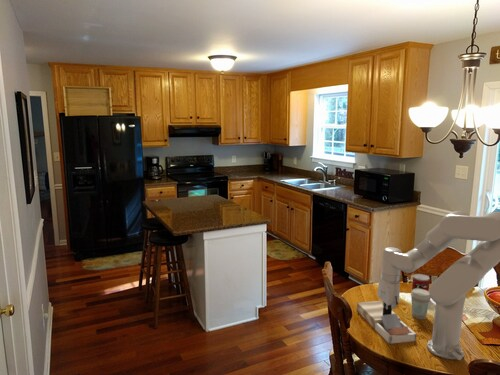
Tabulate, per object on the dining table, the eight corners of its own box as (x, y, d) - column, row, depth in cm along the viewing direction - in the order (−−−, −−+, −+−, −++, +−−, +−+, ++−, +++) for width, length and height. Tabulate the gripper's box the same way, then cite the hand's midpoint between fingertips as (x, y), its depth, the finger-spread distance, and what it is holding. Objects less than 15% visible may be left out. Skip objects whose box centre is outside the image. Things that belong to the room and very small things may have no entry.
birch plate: (399, 326, 166) (400, 317, 165) (374, 328, 164) (375, 320, 163) (379, 308, 182) (380, 300, 181) (356, 310, 180) (357, 302, 179)
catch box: (415, 340, 155) (416, 334, 154) (389, 343, 153) (389, 336, 152) (400, 326, 166) (400, 320, 165) (375, 329, 163) (375, 322, 163)
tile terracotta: (400, 329, 160) (402, 335, 159) (387, 330, 159) (389, 337, 157) (407, 326, 155) (409, 332, 154) (394, 327, 154) (396, 334, 152)
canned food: (409, 297, 195) (410, 276, 193) (414, 292, 200) (416, 272, 199) (424, 301, 190) (426, 281, 188) (429, 296, 195) (431, 276, 194)
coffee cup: (404, 314, 177) (406, 290, 175) (417, 310, 181) (419, 286, 179) (420, 322, 169) (422, 297, 167) (433, 318, 173) (435, 293, 171)
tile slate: (399, 329, 160) (401, 327, 158) (386, 331, 159) (388, 329, 157) (393, 316, 164) (396, 313, 162) (381, 317, 163) (383, 315, 161)
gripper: (373, 270, 168) (370, 308, 171) (392, 284, 153) (388, 326, 157) (388, 269, 169) (385, 307, 173) (408, 283, 155) (404, 324, 158)
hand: (386, 316), depth 165 cm, fingers closed
